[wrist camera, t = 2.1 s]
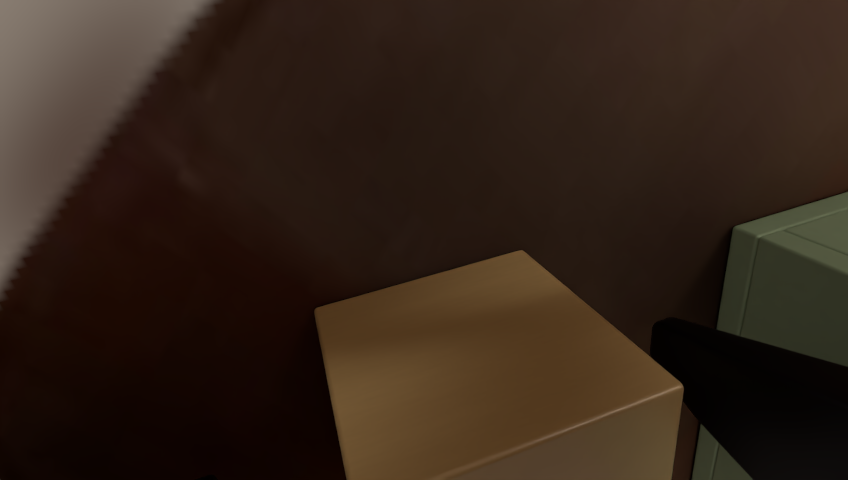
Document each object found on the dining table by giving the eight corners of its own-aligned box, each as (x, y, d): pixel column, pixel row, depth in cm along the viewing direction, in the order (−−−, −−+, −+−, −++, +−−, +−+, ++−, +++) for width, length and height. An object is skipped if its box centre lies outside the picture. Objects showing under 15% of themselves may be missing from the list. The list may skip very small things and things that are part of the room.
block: (358, 465, 11) (411, 702, 7) (312, 307, 9) (352, 513, 5) (530, 403, 12) (660, 582, 8) (522, 247, 10) (687, 385, 6)
